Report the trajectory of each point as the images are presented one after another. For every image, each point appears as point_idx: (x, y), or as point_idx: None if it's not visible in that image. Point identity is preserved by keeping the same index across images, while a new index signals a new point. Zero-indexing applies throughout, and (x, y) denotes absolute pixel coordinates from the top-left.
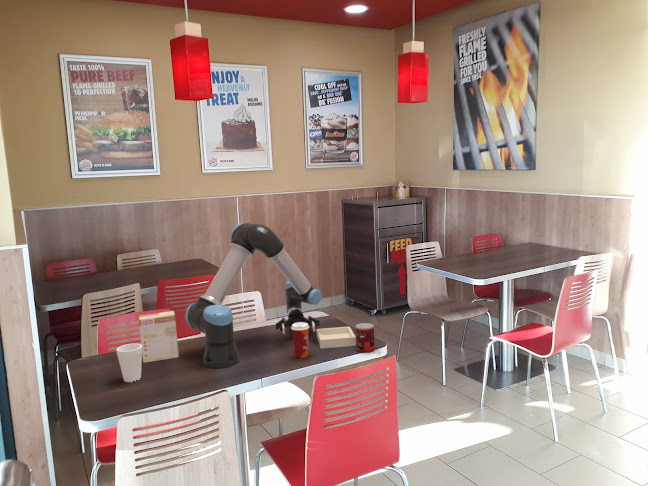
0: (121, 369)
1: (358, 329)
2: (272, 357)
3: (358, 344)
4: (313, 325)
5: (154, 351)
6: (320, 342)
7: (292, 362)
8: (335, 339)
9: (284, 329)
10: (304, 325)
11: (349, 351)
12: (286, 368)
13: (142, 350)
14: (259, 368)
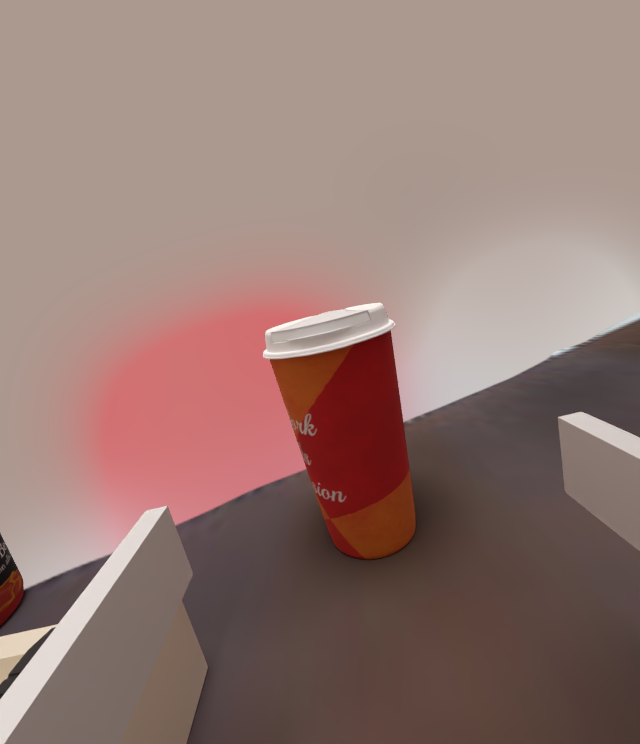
0: None
1: None
2: None
3: (7, 552)
4: (156, 516)
5: None
6: (187, 619)
7: (411, 464)
8: (37, 634)
9: (560, 435)
10: (295, 321)
11: (61, 604)
12: (422, 429)
13: None
14: (547, 413)
